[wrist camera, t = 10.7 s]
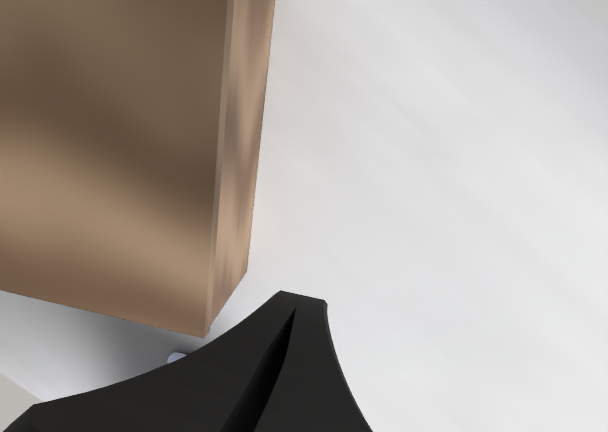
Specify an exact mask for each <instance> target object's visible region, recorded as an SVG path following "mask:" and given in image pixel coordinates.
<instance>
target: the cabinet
mask: <svg viewBox="0 0 608 432" xmlns="http://www.w3.org/2000/svg"><path fill="white" fill-rule="evenodd" d="M274 5H275V0H0V290H2V291H6V292H10V293H15V294H19V295H23V296H27V297H32V298H36V299H40V300H44V301H49V302H53V303H57V304H61V305H66V306H70V307H74V308H78V309H82V310H87V311H91V312H95V313H99V314H104V315H108V316H112V317H116V318H121V319H125V320H129V321H133V322H138V323H142V324H146V325H150V326H155V327H159V328H163V329H167V330H171V331H176V332H180V333H184V334H188V335H193V336H197V337H201V338H205V336H206V335H207V333H208V332H209V330H210V325H211V324H212V322H213V321H214V319H215V318H216V316H217V315H218V314H219V312H220V311H221V309H222V308H223V306H224V305H225V303H226V302H227V300H228V299H229V297H230V296H231V294H232V293H233V291H234V290H235V288H236V287H237V285H238V284H239V282H240V281H241V279H242V278H243V276H244V275H245V274H246V272H247V264H248V254H249V244H250V235H251V225H252V216H253V206H254V197H255V187H256V177H257V168H258V158H259V149H260V139H261V129H262V120H263V110H264V101H265V91H266V82H267V72H268V62H269V53H270V43H271V34H272V24H273V14H274Z"/></svg>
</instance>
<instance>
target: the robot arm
mask: <svg viewBox="0 0 608 432" xmlns="http://www.w3.org/2000/svg"><path fill="white" fill-rule="evenodd" d="M327 306H328V305H327V303H326V302H325V300H322V299H317V298H313V297H308V296H303V295H299V294H294V293H290V292H285V291H279V292H277V293H276V294H275V295H273V296H272V297H271V298H270V299H269V300H268V301H267V302H265V303H264V304H263V305H262V306H261V307H259V308H258V309H257V310H256V311H254V312H253V313H252V314H251V315H249V316H248V317H247V318H245V319H244V320H243V321H241V322H240V323H239V324H237V325H236V326H234V327H233V328H231V329H230V330H228V331H227V332H225V333H224V334H222V335H221V336H219V337H218V338H216V339H215V340H213V341H212V342H210V343H208V344H206V345H205V346H203V347H201V348H200V349H198V350H196V351H194V352H192V353H190V354H188V355H186V354H182V353H178V352H174V353H172V354H171V355H170V356H169V358H168V360H167V364H166V365H164V366H161V367H159V368H157V369H154V370H152V371H149V372H147V373H145V374H142V375H139V376H136V377H134V378H131V379H128V380H125V381H122V382H119V383H116V384H112V385H109V386H106V387H103V388H99V389H96V390H92V391H89V392H85V393H81V394H77V395H72V396H68V397H64V398H60V399H56V400H52V401H48V402H43V403H38V404H33V405H32V406H31V407H30V408H29V409H28V410H26V411H25V412H24V413H23V414H22V415H21V416H20V417H18V418H17V419H16V420H15V421H14V422H13V423H11V424H10V425H9V426H8V427H7V428H6V429H5V430H4V431H3V432H373V431H372V430H371V428H370V426H369V425H368V423H367V422H366V420H365V418H364V416H363V414H362V413H361V411H360V409H359V407H358V405H357V403H356V401H355V399H354V397H353V395H352V393H351V391H350V389H349V387H348V384H347V382H346V380H345V377H344V375H343V372H342V369H341V367H340V364H339V361H338V358H337V355H336V352H335V349H334V345H333V341H332V338H331V334H330V329H329V324H328V317H327Z"/></svg>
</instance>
